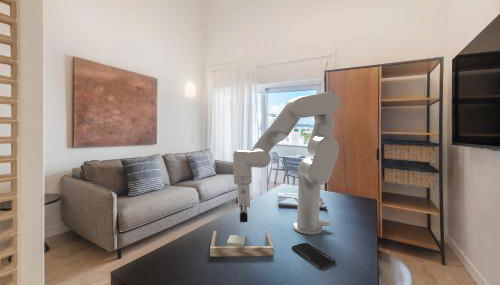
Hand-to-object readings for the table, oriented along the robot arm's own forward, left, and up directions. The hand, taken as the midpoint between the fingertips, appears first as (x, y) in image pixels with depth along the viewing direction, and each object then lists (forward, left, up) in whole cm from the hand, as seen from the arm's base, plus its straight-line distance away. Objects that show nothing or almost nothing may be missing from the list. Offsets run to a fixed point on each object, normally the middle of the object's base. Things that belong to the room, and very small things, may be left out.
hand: (243, 221), depth 100 cm
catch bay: (+1, +12, -5) cm, 13 cm away
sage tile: (+3, +11, -5) cm, 12 cm away
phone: (-24, +19, -5) cm, 31 cm away
